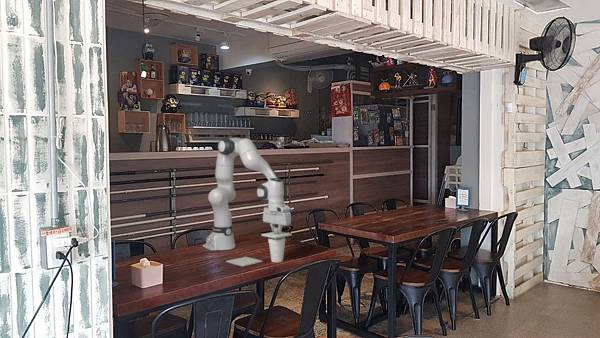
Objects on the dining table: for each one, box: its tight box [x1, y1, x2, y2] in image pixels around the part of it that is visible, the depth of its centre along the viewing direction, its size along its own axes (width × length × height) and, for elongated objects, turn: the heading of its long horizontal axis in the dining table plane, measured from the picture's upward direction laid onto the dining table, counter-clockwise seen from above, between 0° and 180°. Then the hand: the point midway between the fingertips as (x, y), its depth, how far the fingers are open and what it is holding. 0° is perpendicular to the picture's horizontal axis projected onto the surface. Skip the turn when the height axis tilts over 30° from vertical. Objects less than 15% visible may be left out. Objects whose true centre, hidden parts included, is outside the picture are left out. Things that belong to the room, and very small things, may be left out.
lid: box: [261, 226, 293, 238], centre depth 276 cm, size 12×12×4 cm
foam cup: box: [267, 237, 286, 263], centre depth 277 cm, size 10×9×13 cm
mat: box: [225, 256, 263, 267], centre depth 276 cm, size 15×14×1 cm
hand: (276, 231), depth 276 cm, fingers closed on lid, 3 cm apart
